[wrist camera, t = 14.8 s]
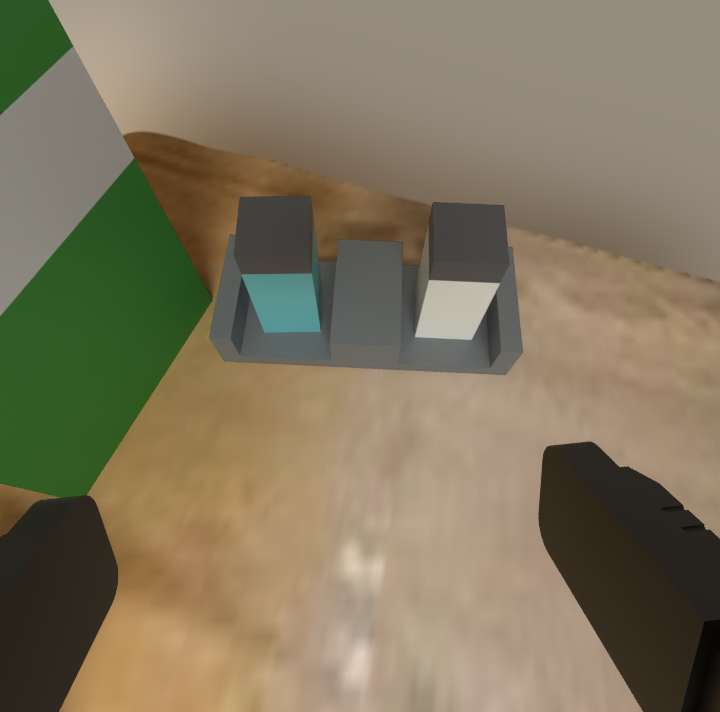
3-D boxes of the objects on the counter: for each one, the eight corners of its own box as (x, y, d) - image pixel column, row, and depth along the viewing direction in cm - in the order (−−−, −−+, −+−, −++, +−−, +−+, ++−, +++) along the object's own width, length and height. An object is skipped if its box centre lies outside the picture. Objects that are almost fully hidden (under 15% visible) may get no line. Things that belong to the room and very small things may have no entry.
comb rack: (497, 277, 40) (512, 246, 36) (505, 374, 37) (522, 352, 33) (242, 265, 41) (229, 234, 37) (224, 361, 37) (209, 337, 33)
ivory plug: (469, 291, 38) (503, 205, 29) (471, 339, 36) (509, 264, 27) (414, 288, 38) (432, 202, 29) (414, 337, 37) (433, 261, 27)
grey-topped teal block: (321, 283, 38) (310, 195, 29) (320, 331, 37) (308, 253, 28) (267, 284, 38) (239, 196, 29) (264, 332, 37) (233, 255, 27)
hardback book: (137, 270, 40) (-125, -80, 18) (212, 300, 39) (28, -36, 17) (-4, 459, 34) (-673, 263, 12) (81, 502, 33) (-486, 371, 11)
